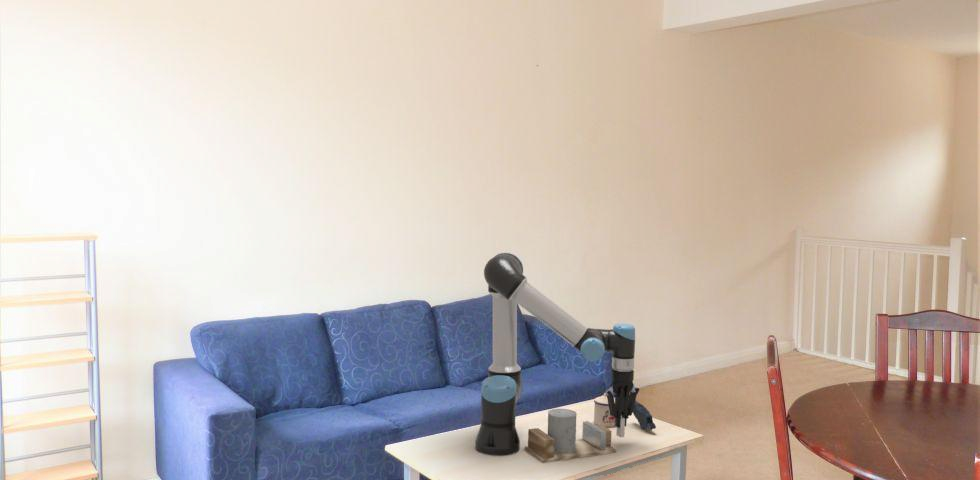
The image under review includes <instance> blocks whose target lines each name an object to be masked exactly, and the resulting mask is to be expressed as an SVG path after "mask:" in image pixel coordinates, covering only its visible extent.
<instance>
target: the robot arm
mask: <svg viewBox="0 0 980 480" xmlns="http://www.w3.org/2000/svg"><path fill="white" fill-rule="evenodd" d="M483 276H484V279H485V282H486V283H487V288H488V289H487V291H488V293H489V294H490V295H491V296H492V363H491V365H490V366H488V369H487V370H488V373H487V374H488V375H487V376H488V377H486V378H485V379H484V380H482V383H481V388H480V393H481V400H480V401H481V402H480V403H481V404H480V426H479V429H478V432H477V434H476V437H475V443H474V445H475V446H474V448H475V450H476V451H478V452H480V453H482V454H486V455H489V456H490V455H491V456H507V455H512V454H514V453H517V452H519V450H520V448H521V441H520V437H519V435H518V430H517V428H516V411H517V410H516V408H517V407H516V406H517V403H518V401H519V399H520V397H521V396H522V394H523V390H524V389H523V388H524V384H523V379H522V368H521V366H520V365H519V364H518V305H519V306H520V307H522V308H523V310H525V311H527V312H528V313H530V315H532V316H533V317H535V318H536V319H537V320H538V321H539V322H541V323H542V324H544V325H545V326H546V327H548V328H549V329H550V330H552V331H553V332H554V333H556V334H557V336H559V337H561V338H562V340H564V341H565V342H567V343H568V344H570V345H571V346H572V347H573V348H575V349H576V350H577V351H578V352H579V353H580V354H581V356H582V358H583V359H585V360H586V361H587V362H596V361H598V360H600V359H602V357H603V356H604V354H605V352H612V355H611V384H610V387H609V388H608V389H604V393H605V394H606V395H607V400H608V405H609V411H610V415H611V416H613V417H615V426H614V427H616V432H615V433H616V436H617V437H619V438H625V427H627V424H628V423H627V421H628V419H629V418H630V417H631V416H632V415H633V408H634V404H635V400H636V399H637V395H638V393H639V392H640V388H638V387H636V386H635V384H634V376H635V375H634V374H635V371H634V369H635V351H636V346H635V345H636V327H635V326H634V325H632V324H629V323H615V324H613V327H612V329H607V328H606V329H604V328H590V327H586V326H585V325H583V324H582V323H581V322H580V321H578V320H577V319H576V318H574V317H573V316H572V315H570V314H569V313H568V312H566V310H564V309H562V307H560V306H559V305H558V304H556V303H555V302H553V300H551V299H550V298H548V297H547V296H546V295H544V294H543V293H542V292H541V291H539V290H538V289H537V288H536V287H534V286H533V285H531V284H530V283H529V282H528V279H527V277H526V276H525V275H524V266H523V263H522V261H521V259H520V258H519V257H518V256H517V255H515V254H513V253H510V252H500V253H498V254H496V255H494V256H493V257H491V258H490V259H489V260H488V261H487V263H486V264H485V266H484V269H483ZM614 398H615V402H614ZM636 401H637V400H636ZM629 416H630V417H629Z"/></svg>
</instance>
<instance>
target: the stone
mask: <svg viewBox="0 0 980 480" xmlns="http://www.w3.org/2000/svg"><path fill="white" fill-rule="evenodd" d="M632 415H633V416H634V417H635V419H636V420H637V422H638V424H639V426H640V428H641V429H642V430H645V429H646V430H649V431H652V430H654V429H656V428H657V426H656V425H655V423H654V421H653V416H652V414H651V413H650V411H649V410H648V408H647V407H646V406H644V405H643V404H642V403H640V402H638V401H637V400H635V404H634V408H633V412H632Z"/></svg>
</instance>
